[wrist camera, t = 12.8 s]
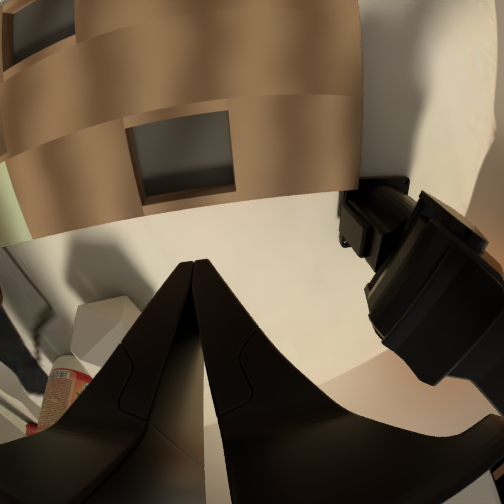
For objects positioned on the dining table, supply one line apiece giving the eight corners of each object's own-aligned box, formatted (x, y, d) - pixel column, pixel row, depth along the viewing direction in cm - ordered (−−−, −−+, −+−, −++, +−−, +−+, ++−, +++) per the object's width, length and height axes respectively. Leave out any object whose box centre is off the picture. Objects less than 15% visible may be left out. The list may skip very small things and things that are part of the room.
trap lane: (336, -51, 10) (361, -68, 7) (346, 179, 21) (370, 200, 18) (-39, 50, 7) (-67, 54, 4) (2, 238, 19) (-18, 263, 16)
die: (72, 275, 23) (48, 368, 20) (122, 282, 19) (93, 403, 16) (128, 303, 30) (109, 381, 26) (185, 313, 26) (163, 408, 22)
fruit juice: (49, 345, 28) (18, 546, 5) (114, 363, 31) (108, 574, 8) (59, 378, 32) (41, 542, 9) (114, 394, 35) (112, 562, 12)
